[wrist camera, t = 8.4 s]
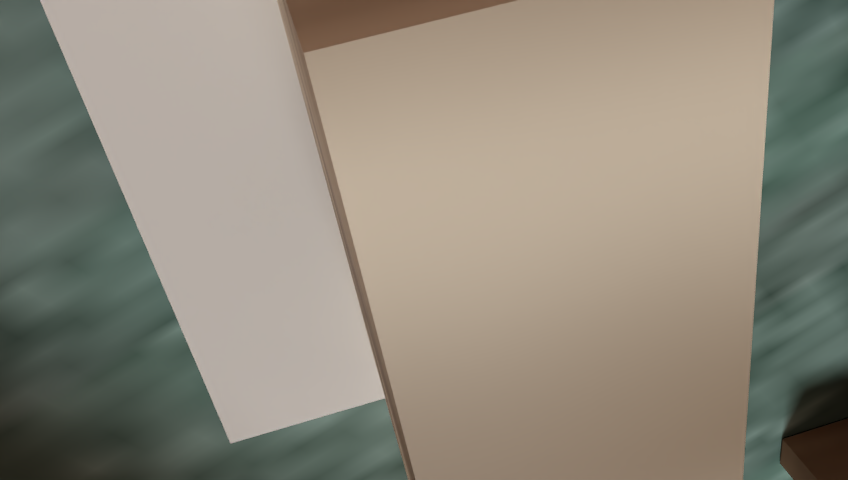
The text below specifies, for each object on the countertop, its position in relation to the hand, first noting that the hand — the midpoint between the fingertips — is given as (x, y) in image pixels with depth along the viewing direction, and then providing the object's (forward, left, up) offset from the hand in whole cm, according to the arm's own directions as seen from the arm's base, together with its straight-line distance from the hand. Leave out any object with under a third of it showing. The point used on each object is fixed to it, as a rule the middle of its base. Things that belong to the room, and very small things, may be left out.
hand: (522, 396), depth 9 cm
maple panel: (0, 0, -7) cm, 7 cm away
